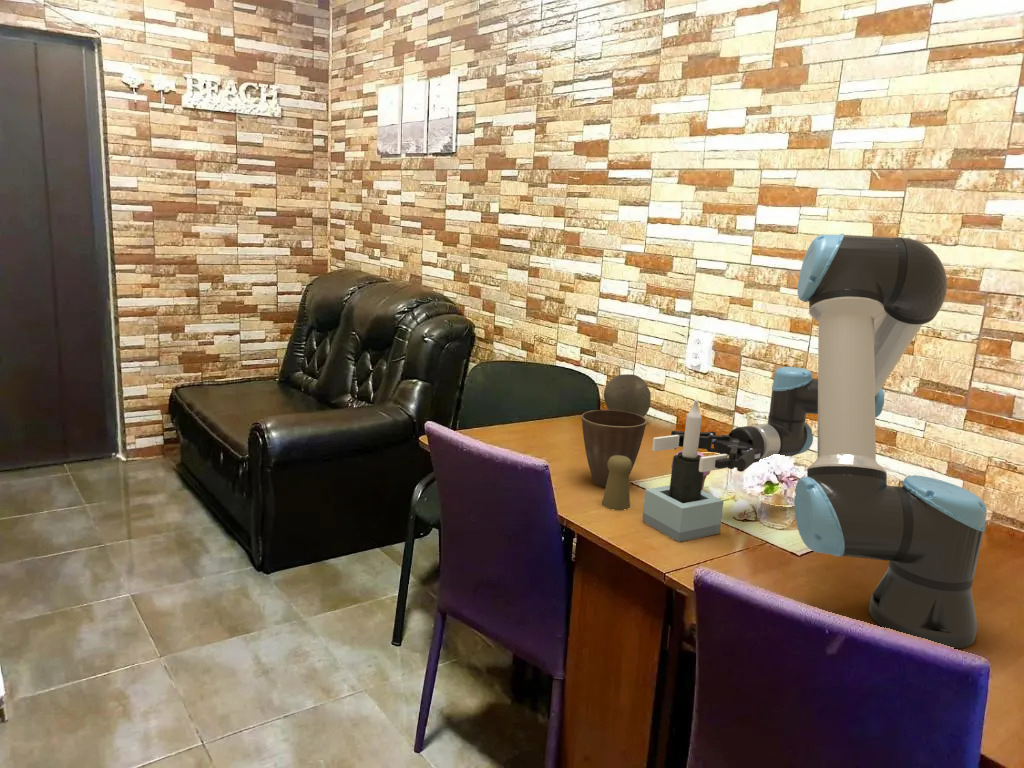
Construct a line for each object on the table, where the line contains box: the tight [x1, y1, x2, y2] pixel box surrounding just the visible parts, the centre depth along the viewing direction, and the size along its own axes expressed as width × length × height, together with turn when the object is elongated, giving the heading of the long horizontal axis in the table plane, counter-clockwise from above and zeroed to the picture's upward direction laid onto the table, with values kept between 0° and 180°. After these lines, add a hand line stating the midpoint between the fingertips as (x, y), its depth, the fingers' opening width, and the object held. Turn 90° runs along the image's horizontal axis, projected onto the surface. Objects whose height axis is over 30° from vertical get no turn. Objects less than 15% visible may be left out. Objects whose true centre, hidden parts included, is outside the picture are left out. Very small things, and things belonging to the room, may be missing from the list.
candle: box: [669, 398, 704, 503], centre depth 149 cm, size 5×5×25 cm
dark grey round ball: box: [603, 373, 652, 418], centre depth 230 cm, size 14×14×15 cm
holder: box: [641, 484, 725, 543], centre depth 151 cm, size 11×11×7 cm
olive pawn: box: [601, 455, 633, 511], centre depth 161 cm, size 6×6×11 cm
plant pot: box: [581, 409, 647, 488], centre depth 174 cm, size 15×15×16 cm
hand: (676, 454), depth 147 cm, fingers open, 13 cm apart
